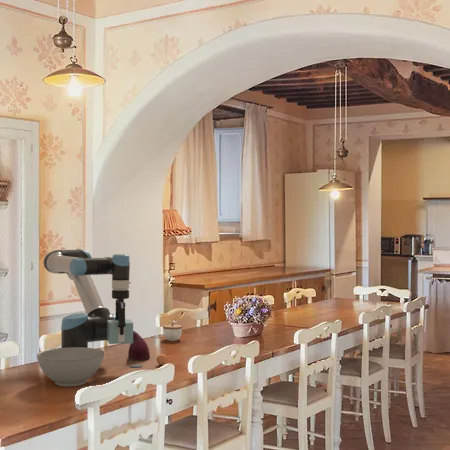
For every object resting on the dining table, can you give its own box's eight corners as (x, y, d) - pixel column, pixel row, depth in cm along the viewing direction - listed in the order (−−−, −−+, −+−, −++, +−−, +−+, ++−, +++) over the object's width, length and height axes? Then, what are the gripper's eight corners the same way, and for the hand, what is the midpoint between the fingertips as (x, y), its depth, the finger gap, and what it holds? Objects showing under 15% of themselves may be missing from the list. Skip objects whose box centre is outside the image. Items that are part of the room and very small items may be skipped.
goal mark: (130, 368, 308) (130, 367, 308) (128, 365, 314) (128, 364, 314) (143, 367, 310) (143, 367, 310) (141, 364, 316) (141, 364, 316)
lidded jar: (179, 341, 375) (179, 324, 375) (160, 341, 377) (160, 323, 377) (184, 338, 386) (184, 321, 386) (165, 337, 388) (166, 321, 388)
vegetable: (130, 367, 325) (123, 338, 322) (128, 360, 335) (121, 331, 332) (152, 361, 327) (145, 331, 324) (149, 354, 337) (142, 325, 334)
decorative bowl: (108, 375, 294) (108, 347, 294) (98, 391, 267) (99, 360, 267) (44, 375, 293) (45, 347, 293) (29, 391, 266) (29, 360, 266)
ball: (157, 366, 312) (157, 355, 312) (155, 364, 317) (155, 353, 317) (168, 366, 314) (168, 355, 313) (166, 363, 318) (166, 353, 318)
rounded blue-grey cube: (109, 344, 297) (109, 323, 297) (107, 339, 307) (107, 320, 307) (133, 343, 300) (133, 323, 300) (130, 338, 310) (130, 319, 309)
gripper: (132, 292, 293) (131, 344, 293) (125, 286, 315) (125, 334, 315) (114, 292, 291) (114, 344, 291) (109, 286, 313) (108, 335, 313)
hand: (119, 339), depth 303 cm, fingers closed on rounded blue-grey cube, 10 cm apart
